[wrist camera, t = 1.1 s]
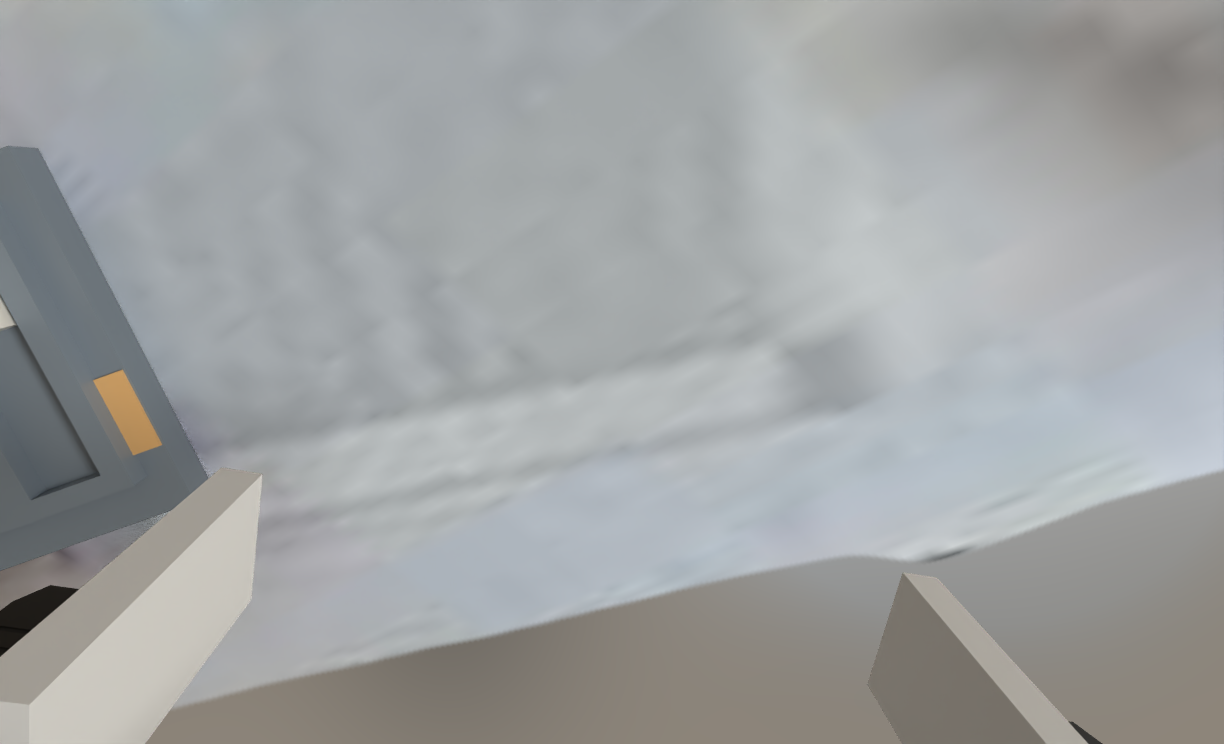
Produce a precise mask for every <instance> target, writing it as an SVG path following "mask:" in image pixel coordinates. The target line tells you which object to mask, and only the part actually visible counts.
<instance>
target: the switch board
mask: <svg viewBox="0 0 1224 744" xmlns="http://www.w3.org/2000/svg"><path fill="white" fill-rule="evenodd" d="M0 295H1V296H2V298H3V300H4V302H5V304H6V305H7V307H8V309H9V311H10V313H11V314H12V316H13V318H14V320H15V322H16V323H17V326H14V327H11V328H9V329H6V330H3V331H0V571H1V570H4V569H7V568H10V567H12V566H15V565H18V564H21V563H24V562H27V561H29V560H32V559H35V558H38V557H41V556H43V555H46V554H49V553H52V552H55V551H58V550H60V549H63V548H66V547H69V546H72V545H75V544H77V543H80V542H83V541H86V540H89V539H92V538H94V537H97V536H100V535H103V534H106V533H109V532H111V531H114V530H117V529H120V528H123V527H126V526H128V525H131V524H134V523H137V522H140V521H142V520H145V519H148V518H151V517H154V516H157V515H159V514H162V513H165V512H168V511H171V510H173V509H174V508H175V507H176V506H177V505H178V504H180V503H181V502H182V501H183V500H184V499H185V498H187V497H188V496H189V495H190V494H191V493H192V492H194V491H195V490H196V489H197V488H198V487H199V486H201V485H202V484H203V483H204V482H205V481H206V480H208V477H207V475H206V473H205V471H204V469H203V467H202V465H201V463H200V461H199V459H198V457H197V455H196V453H195V451H194V450H193V448H192V446H191V444H190V442H189V440H188V438H187V436H186V434H185V432H184V430H183V428H182V426H181V424H180V422H179V421H178V419H177V417H176V415H175V413H174V411H173V409H172V407H171V405H170V403H169V401H168V399H167V397H166V395H165V393H164V391H163V390H162V388H161V386H160V384H159V382H158V380H157V378H156V376H155V374H154V372H153V370H152V368H151V366H150V364H149V362H148V360H147V359H146V357H145V355H144V353H143V351H142V349H141V347H140V345H139V343H138V341H137V339H136V337H135V335H134V333H133V331H132V329H131V328H130V326H129V324H128V322H127V320H126V318H125V316H124V314H123V312H122V310H121V308H120V306H119V304H118V302H117V300H116V298H115V297H114V295H113V293H112V291H111V289H110V287H109V285H108V283H107V281H106V279H105V277H104V275H103V273H102V271H101V269H100V267H99V266H98V264H97V262H96V260H95V258H94V256H93V254H92V252H91V250H90V248H89V246H88V244H87V242H86V240H85V238H84V236H83V235H82V233H81V231H80V229H79V227H78V225H77V223H76V221H75V219H74V217H73V215H72V213H71V211H70V209H69V207H68V206H67V204H66V202H65V200H64V198H63V196H62V194H61V192H60V190H59V188H58V186H57V184H56V182H55V180H54V178H53V176H52V175H51V173H50V171H49V169H48V167H47V165H46V163H45V161H44V159H43V157H42V155H41V153H40V151H39V149H38V148H27V147H13V146H6V147H4V148H1V149H0Z"/></svg>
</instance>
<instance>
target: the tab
mask: <svg viewBox="0 0 1224 744" xmlns="http://www.w3.org/2000/svg"><path fill="white" fill-rule="evenodd" d="M14 326H17V323H16V322H15V320H14V318H13V316H12V314H11V313H10V311H9V309H8V307H7V305H6V304H5V302H4V300H3V298H2V296H1V295H0V331H3V330H6V329H9V328H11V327H14Z"/></svg>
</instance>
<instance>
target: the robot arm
mask: <svg viewBox="0 0 1224 744" xmlns="http://www.w3.org/2000/svg"><path fill="white" fill-rule="evenodd" d="M262 475H263V474H261V473H254V472H248V471H241V470H235V469H228V468H220V469H219V470H218V471H217V472H216V473H215V474H213V475H212V476H211V477H210V478H209V479H208V480H206V481H205V482H204V483H203V484H202V485H201V486H199V487H198V488H197V489H196V490H195V491H194V492H192V493H191V494H190V495H189V496H188V497H187V498H185V499H184V500H183V501H182V502H181V503H180V504H178V505H177V506H176V507H175V508H174V509H173V510H171V511H170V512H169V513H168V514H167V515H166V516H164V517H163V518H162V519H161V520H160V521H159V522H157V523H156V524H155V525H154V526H153V527H151V528H150V529H149V530H148V531H147V532H146V533H144V534H143V535H142V536H141V537H140V538H139V539H137V540H136V541H135V542H134V543H133V544H132V545H130V546H129V547H128V548H127V549H126V550H125V551H123V552H122V553H121V554H120V555H119V556H118V557H116V558H115V559H114V560H113V561H112V562H111V563H109V564H108V565H107V566H106V567H105V568H104V569H102V570H101V571H100V572H99V573H98V574H97V575H95V576H94V577H93V578H92V579H91V580H90V581H88V582H87V583H86V584H85V585H84V586H82V587H81V588H80V589H74V588H66V587H59V586H52V585H50V586H48V587H45V588H43V589H41V590H38V591H36V592H34V593H31V594H29V595H27V596H24V597H22V598H20V599H18V600H15V601H13V602H11V603H10V604H9V605H7V606H6V607H5V608H3V609H2V610H1V611H0V744H145V743H146V742H147V740H148V739H149V738H150V736H151V735H152V733H153V732H154V731H155V729H156V728H157V727H158V725H159V724H160V723H161V721H162V720H163V718H164V717H165V716H166V714H167V713H168V712H169V710H170V709H171V708H172V706H173V705H174V704H175V702H176V701H177V700H178V698H179V697H180V696H181V694H182V693H183V691H184V690H185V689H186V687H187V686H188V685H189V683H190V682H191V681H192V679H193V678H194V677H195V675H196V674H197V673H198V671H199V670H200V668H201V667H202V666H203V664H204V663H205V662H206V660H207V659H208V658H209V656H210V655H211V654H212V652H213V651H214V650H215V648H216V647H217V645H218V644H219V643H220V641H221V640H222V639H223V637H224V636H225V635H226V633H227V632H228V631H229V629H230V628H231V626H232V625H233V624H234V622H235V621H236V620H237V618H238V617H239V616H240V614H241V613H242V612H243V610H244V609H245V608H246V606H247V605H248V603H249V602H250V601H251V596H252V585H253V574H254V563H255V552H256V541H257V530H258V519H259V508H260V497H261V486H262ZM867 685H868V687H869V688H870V690H871V692H872V693H873V695H874V696H875V699H876V700H877V702H878V704H879V705H880V707H881V709H882V710H883V712H884V714H885V716H886V717H887V719H888V721H889V722H890V724H891V726H892V728H893V729H894V731H895V733H896V734H897V736H898V738H899V739H900V741H901V743H902V744H1102V743H1101V742H1099V741H1098V740H1097V739H1095V738H1094V737H1092V736H1091V735H1090V734H1088V733H1087V732H1086V731H1084V730H1083V729H1082V728H1080V727H1079V726H1078V725H1076V724H1075V723H1074V722H1068V721H1067V720H1066V719H1065V718H1064V717H1063V716H1062V715H1061V713H1060V712H1059V711H1058V710H1057V709H1056V708H1055V707H1054V706H1053V705H1052V703H1051V702H1050V701H1049V700H1048V699H1047V698H1046V697H1045V696H1044V695H1043V694H1042V692H1041V691H1040V690H1039V689H1038V688H1037V687H1036V686H1035V685H1034V684H1033V683H1032V682H1031V681H1030V679H1029V678H1028V677H1027V676H1026V675H1025V674H1024V673H1023V672H1022V671H1021V670H1020V668H1019V667H1018V666H1017V665H1016V664H1015V663H1014V662H1013V661H1012V660H1011V658H1010V657H1009V656H1008V655H1007V654H1006V653H1005V652H1004V651H1003V650H1002V649H1001V648H1000V646H999V645H998V644H997V643H996V642H995V641H994V640H993V639H992V638H991V637H990V636H989V635H988V634H987V632H986V631H985V630H984V629H983V628H982V627H981V626H980V624H978V622H977V621H976V620H975V619H974V618H973V617H972V616H971V615H970V614H969V612H968V611H967V610H966V609H965V608H964V607H963V606H962V605H961V604H960V603H959V602H958V600H957V599H956V598H955V597H954V596H953V595H952V594H951V593H950V592H949V591H948V589H947V588H946V587H945V586H944V585H943V584H942V583H941V582H940V581H939V580H938V578H935V577H929V576H922V575H916V574H909V573H902V576H901V580H900V583H899V586H898V589H897V592H896V595H895V599H894V602H893V605H892V608H891V612H890V614H889V618H888V621H887V624H886V627H885V630H884V633H883V636H882V640H881V643H880V646H879V649H878V652H877V655H876V659H875V662H874V666H873V668H872V671H871V675H870V678H869V681H868V684H867Z"/></svg>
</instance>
